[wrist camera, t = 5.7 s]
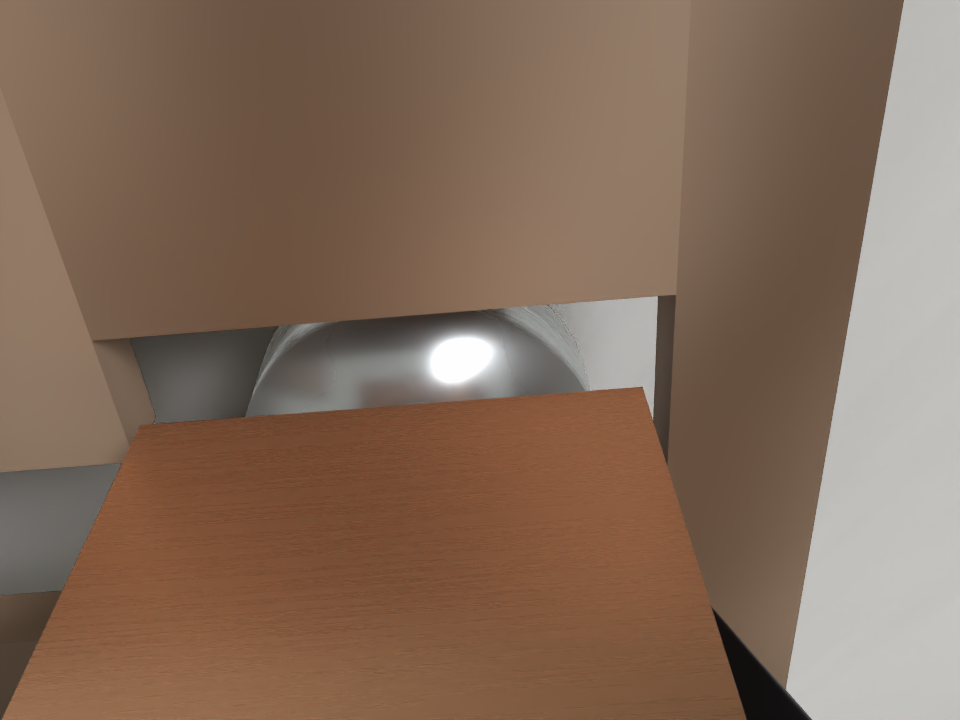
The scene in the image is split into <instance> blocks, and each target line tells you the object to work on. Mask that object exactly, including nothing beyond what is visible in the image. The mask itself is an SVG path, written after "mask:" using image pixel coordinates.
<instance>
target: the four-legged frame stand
mask: <svg viewBox="0 0 960 720" xmlns="http://www.w3.org/2000/svg"><path fill="white" fill-rule="evenodd" d="M903 2H904V0H0V472H11V471H24V470H37V469H50V468H63V467H76V466H89V465H102V464H115V463H123V461H124V459H125V456H126V454H127V452H128V450H129V448H130V446H131V444H132V442H133V439H134V437H135V435H136V433H137V431H138V429H139V427H140V425H149V424H152V423H153V421H154V419H155V417H156V416H155V413H154V410H153V407H152V404H151V401H150V398H149V395H148V392H147V389H146V386H145V383H144V380H143V377H142V374H141V371H140V368H139V365H138V362H137V359H136V356H135V353H134V350H133V347H132V344H131V341H130V338H132V337H145V336H158V335H170V334H183V333H196V332H208V331H221V330H234V329H246V328H259V327H272V326H284V325H297V324H310V323H322V322H335V321H348V320H360V319H373V318H386V317H398V316H411V315H424V314H436V313H449V312H462V311H474V310H487V309H500V308H512V307H525V306H538V305H550V304H563V303H576V302H588V301H601V300H614V299H626V298H639V297H652V296H658V312H657V338H656V364H655V391H654V417H653V422H654V426H655V429H656V432H657V435H658V438H659V442H660V445H661V448H662V451H663V454H664V457H665V461H666V464H667V467H668V470H669V473H670V477H671V480H672V483H673V486H674V489H675V493H676V496H677V499H678V502H679V505H680V509H681V512H682V515H683V518H684V521H685V524H686V528H687V531H688V534H689V537H690V540H691V544H692V547H693V550H694V553H695V556H696V560H697V563H698V566H699V569H700V572H701V576H702V579H703V582H704V585H705V588H706V591H707V595H708V598H709V601H710V604H711V606H712V608H713V609H714V610H715V611H716V612H717V613H718V614H719V615H720V617H721V618H722V619H723V620H724V621H725V622H726V623H727V624H728V626H729V627H730V628H731V629H732V630H733V631H734V632H735V633H736V635H737V636H738V637H739V638H740V639H741V640H742V641H743V642H744V644H745V645H746V646H747V647H748V648H749V649H750V650H751V651H752V653H753V654H754V655H755V656H756V657H757V658H758V659H759V660H760V662H761V663H762V664H763V665H764V666H765V667H766V668H767V669H768V671H769V672H770V673H771V674H772V675H773V676H774V677H775V678H776V680H777V681H778V682H779V683H780V684H781V685H782V686H783V688H784V689H786V684H787V678H788V672H789V666H790V660H791V654H792V649H793V643H794V637H795V631H796V625H797V619H798V614H799V608H800V602H801V596H802V590H803V584H804V579H805V573H806V567H807V561H808V555H809V550H810V544H811V538H812V532H813V526H814V520H815V515H816V509H817V503H818V497H819V491H820V485H821V480H822V474H823V468H824V462H825V456H826V451H827V445H828V439H829V433H830V427H831V421H832V416H833V410H834V404H835V398H836V392H837V386H838V381H839V375H840V369H841V363H842V357H843V352H844V346H845V340H846V334H847V328H848V322H849V317H850V311H851V305H852V299H853V293H854V287H855V282H856V276H857V270H858V264H859V258H860V253H861V247H862V241H863V235H864V229H865V223H866V218H867V212H868V206H869V200H870V194H871V188H872V183H873V177H874V171H875V165H876V159H877V154H878V148H879V142H880V136H881V130H882V124H883V119H884V113H885V107H886V101H887V95H888V89H889V84H890V78H891V72H892V66H893V60H894V54H895V49H896V43H897V37H898V31H899V25H900V20H901V14H902V8H903ZM61 593H62V591H52V592H39V593H26V594H12V595H0V720H2V718H3V716H4V714H5V712H6V709H7V707H8V705H9V703H10V701H11V699H12V697H13V695H14V692H15V690H16V688H17V686H18V684H19V682H20V680H21V678H22V675H23V673H24V671H25V669H26V667H27V665H28V663H29V661H30V658H31V656H32V654H33V652H34V650H35V648H36V646H37V644H38V641H39V639H40V637H41V635H42V633H43V631H44V629H45V627H46V624H47V622H48V620H49V618H50V616H51V614H52V612H53V610H54V607H55V605H56V603H57V601H58V599H59V597H60V595H61Z"/></svg>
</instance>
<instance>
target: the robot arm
mask: <svg viewBox="0 0 960 720" xmlns="http://www.w3.org/2000/svg"><path fill="white" fill-rule="evenodd" d="M711 607H712V606H711ZM712 611H713V614H714V617H715V620H716V623H717V627H718V630H719V633H720V636H721V639H722V643H723V646H724V649H725V652H726V655H727V658H728V662H729V665H730V668H731V671H732V674H733V678H734V681H735V684H736V687H737V690H738V694H739V697H740V700H741V703H742V706H743V710H744V713H745V716H746V719H747V720H812V719H811V718H810V717H809V716H808V715H807V713H806V712H805V711H804V710H803V709H802V708H801V707H800V706H799V704H798V703H797V702H796V701H795V700H794V699H793V698H792V697H791V695H790V694H789V693H788V692H787V691H786V690H785V689H784V688H783V686H782V685H781V684H780V683H779V682H778V681H777V680H776V678H775V677H774V676H773V675H772V674H771V673H770V672H769V671H768V669H767V668H766V667H765V666H764V665H763V664H762V663H761V662H760V660H759V659H758V658H757V657H756V656H755V655H754V654H753V653H752V651H751V650H750V649H749V648H748V647H747V646H746V645H745V644H744V642H743V641H742V640H741V639H740V638H739V637H738V636H737V635H736V633H735V632H734V631H733V630H732V629H731V628H730V627H729V626H728V624H727V623H726V622H725V621H724V620H723V619H722V618H721V617H720V615H719V614H718V613H717V612H716V611H715V610H714V609H713V608H712Z"/></svg>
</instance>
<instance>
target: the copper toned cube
mask: <svg viewBox="0 0 960 720" xmlns="http://www.w3.org/2000/svg"><path fill="white" fill-rule="evenodd" d="M2 720H747V719H746V716H745V713H744V710H743V706H742V703H741V700H740V697H739V694H738V690H737V687H736V684H735V681H734V678H733V674H732V671H731V668H730V665H729V662H728V658H727V655H726V652H725V649H724V646H723V643H722V639H721V636H720V633H719V630H718V627H717V623H716V620H715V617H714V614H713V611H712V607H711V604H710V601H709V598H708V595H707V591H706V588H705V585H704V582H703V579H702V576H701V572H700V569H699V566H698V563H697V560H696V556H695V553H694V550H693V547H692V544H691V540H690V537H689V534H688V531H687V528H686V524H685V521H684V518H683V515H682V512H681V509H680V505H679V502H678V499H677V496H676V493H675V489H674V486H673V483H672V480H671V477H670V473H669V470H668V467H667V464H666V461H665V457H664V454H663V451H662V448H661V445H660V442H659V438H658V435H657V432H656V429H655V426H654V422H653V419H652V416H651V413H650V410H649V406H648V403H647V400H646V397H645V394H644V390H643V387H636V388H623V389H610V390H597V391H590V388H589V383H588V379H587V374H586V371H585V367H584V363H583V359H582V356H581V354H580V351H579V349H578V347H577V344H576V342H575V340H574V338H573V337H572V335H571V334H570V332H569V330H568V329H567V327H566V326H565V324H564V323H563V322H562V321H561V319H560V318H559V317H558V316H557V315H556V313H555V312H554V311H553V310H552V309H551V308H550V307H549V306H548V305H538V306H525V307H512V308H500V309H487V310H474V311H462V312H449V313H436V314H424V315H411V316H398V317H386V318H373V319H360V320H348V321H335V322H322V323H310V324H297V325H284V326H279V327H278V328H277V330H276V331H275V333H274V335H273V337H272V339H271V341H270V343H269V345H268V347H267V350H266V353H265V356H264V359H263V362H262V365H261V368H260V371H259V374H258V378H257V381H256V384H255V387H254V390H253V393H252V397H251V400H250V403H249V406H248V409H247V412H246V416H245V417H241V418H228V419H215V420H202V421H189V422H176V423H162V424H149V425H140V427H139V429H138V431H137V433H136V435H135V437H134V439H133V442H132V444H131V446H130V448H129V450H128V452H127V454H126V456H125V459H124V461H123V463H122V465H121V467H120V469H119V471H118V473H117V476H116V478H115V480H114V482H113V484H112V486H111V488H110V490H109V493H108V495H107V497H106V499H105V501H104V503H103V505H102V507H101V510H100V512H99V514H98V516H97V518H96V520H95V522H94V524H93V527H92V529H91V531H90V533H89V535H88V537H87V539H86V541H85V544H84V546H83V548H82V550H81V552H80V554H79V556H78V559H77V561H76V563H75V565H74V567H73V569H72V571H71V573H70V576H69V578H68V580H67V582H66V584H65V586H64V588H63V590H62V593H61V595H60V597H59V599H58V601H57V603H56V605H55V607H54V610H53V612H52V614H51V616H50V618H49V620H48V622H47V624H46V627H45V629H44V631H43V633H42V635H41V637H40V639H39V641H38V644H37V646H36V648H35V650H34V652H33V654H32V656H31V658H30V661H29V663H28V665H27V667H26V669H25V671H24V673H23V675H22V678H21V680H20V682H19V684H18V686H17V688H16V690H15V692H14V695H13V697H12V699H11V701H10V703H9V705H8V707H7V709H6V712H5V714H4V716H3V718H2Z"/></svg>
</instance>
